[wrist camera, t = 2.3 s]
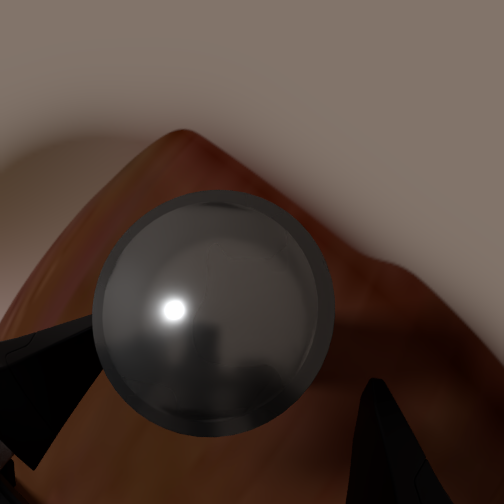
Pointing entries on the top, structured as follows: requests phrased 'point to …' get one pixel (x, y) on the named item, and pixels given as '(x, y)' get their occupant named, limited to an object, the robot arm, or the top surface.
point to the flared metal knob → (213, 313)
